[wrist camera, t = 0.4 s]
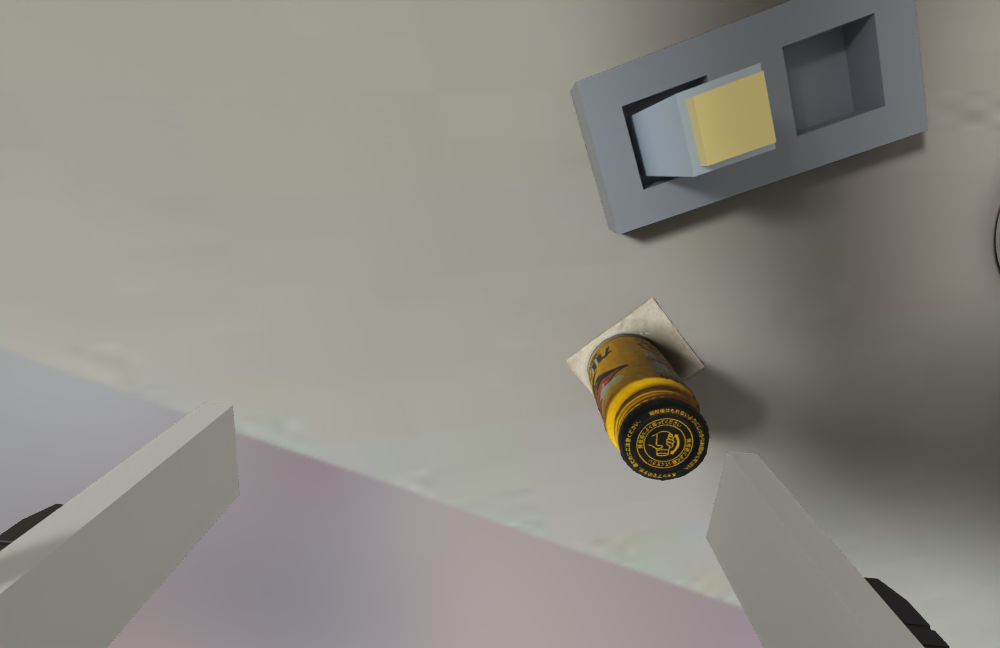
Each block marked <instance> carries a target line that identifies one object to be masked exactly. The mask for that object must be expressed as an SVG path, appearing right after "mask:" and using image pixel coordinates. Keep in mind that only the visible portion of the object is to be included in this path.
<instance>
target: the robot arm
mask: <svg viewBox="0 0 1000 648" xmlns="http://www.w3.org/2000/svg"><path fill="white" fill-rule="evenodd" d="M239 495H240V491H239V479H238V466H237V453H236V440H235V428H234V415H233V405H223V404H212V403H203V404H202V405H200V406H199V407H198V408H196V409H195V410H193V411H192V412H191V413H189V414H188V415H187V416H185V417H184V418H182V419H181V420H180V421H178V422H177V423H176V424H174V425H173V426H171V427H170V428H169V429H167V430H166V431H165V432H163V433H162V434H160V435H159V436H158V437H156V438H155V439H154V440H152V441H151V442H150V443H148V444H147V445H145V446H144V447H143V448H142V449H140V450H138V451H137V452H136V453H135V454H133V455H132V456H130V457H129V458H128V459H126V460H125V461H123V462H122V463H121V464H119V465H118V466H117V467H115V468H114V469H112V470H111V471H110V472H108V473H107V474H106V475H104V476H103V477H102V478H100V479H99V480H97V481H96V482H95V483H93V484H92V485H90V486H89V487H88V488H86V489H85V490H84V491H82V492H81V493H79V494H78V495H77V496H75V497H74V498H73V499H71V500H70V501H69V502H67V503H66V504H64V505H62V504H55V505H53V506H51V507H49V508H46V509H44V510H42V511H40V512H38V513H36V514H34V515H32V516H29V517H27V518H25V519H23V520H21V521H20V522H18V523H17V524H15V525H14V526H13V527H11V528H10V529H8V530H7V531H6V532H4V533H2V534H1V535H0V648H107V647H108V646H109V644H110V643H111V642H112V641H113V640H114V639H115V638H116V636H117V635H118V634H119V633H120V632H121V631H122V629H123V628H124V627H125V626H126V625H127V624H128V623H129V621H130V620H131V619H132V617H134V616H135V614H136V613H137V612H138V611H139V610H140V609H141V608H142V606H143V605H144V604H145V603H146V602H147V601H148V599H149V598H150V597H151V596H152V595H153V594H154V593H155V591H156V590H157V589H158V588H159V587H160V586H161V584H162V583H163V582H164V581H165V580H166V579H167V578H168V576H169V575H170V574H171V573H172V572H173V571H174V570H175V568H176V567H177V566H178V565H179V564H180V562H181V561H182V560H183V559H184V558H185V557H186V556H187V554H188V553H189V552H190V551H191V550H192V549H193V548H194V546H195V545H196V544H197V543H198V542H199V541H200V540H201V538H202V537H203V536H204V535H205V533H207V531H208V530H209V529H210V528H211V527H212V526H213V524H214V523H215V522H216V521H217V520H218V519H219V518H220V516H221V515H222V514H223V513H224V512H225V511H226V509H227V508H228V507H229V506H230V505H231V504H232V503H233V501H234V500H235V499H236V498H237V497H238V496H239ZM706 539H707V540H708V542H709V544H710V546H711V548H712V550H713V552H714V554H715V556H716V558H717V560H718V561H719V563H720V565H721V567H722V569H723V571H724V573H725V575H726V577H727V579H728V581H729V582H730V584H731V586H732V588H733V590H734V592H735V594H736V596H737V598H738V600H739V602H740V603H741V605H742V607H743V609H744V611H745V613H746V615H747V617H748V619H749V621H750V623H751V624H752V626H753V628H754V630H755V632H756V634H757V636H758V638H759V640H760V642H761V643H762V645H763V647H764V648H949V646H948V645H947V643H946V642H945V641H944V640H943V639H942V638H941V637H940V636H939V635H938V634H937V633H936V631H934V630H931V629H930V625H929V624H928V623H927V622H926V621H925V619H924V618H923V617H922V616H921V615H920V614H919V613H918V612H917V611H916V610H915V609H914V608H913V606H912V605H911V604H910V603H909V602H908V601H907V600H906V599H904V598H903V597H902V596H900V595H899V594H898V593H896V592H895V591H894V590H892V589H891V588H889V587H888V586H887V585H885V584H884V583H883V582H881V581H880V580H879V579H875V578H864V577H863V576H862V575H861V574H860V573H859V572H858V570H857V569H856V568H855V567H854V566H853V565H852V563H851V562H850V561H849V560H848V559H847V558H846V556H845V555H844V554H843V553H842V552H841V551H840V550H839V548H838V547H837V546H836V545H835V544H834V543H833V541H832V540H831V539H830V538H829V537H828V536H827V534H826V533H825V532H824V531H823V530H822V529H821V528H820V526H819V525H818V524H817V523H816V522H815V521H814V519H813V518H812V517H811V516H810V515H809V514H808V513H807V511H806V510H805V509H804V508H803V507H802V506H801V504H800V503H799V502H798V501H797V500H796V499H795V497H794V496H793V495H792V494H791V493H790V492H789V491H788V489H787V488H786V487H785V486H784V485H783V484H782V482H781V481H780V480H779V479H778V478H777V477H776V475H775V474H774V473H773V472H772V471H771V470H770V469H769V467H768V466H767V465H766V464H765V463H764V462H763V460H762V459H761V458H760V457H759V456H758V455H757V454H756V453H745V452H734V451H727V455H726V459H725V463H724V467H723V471H722V475H721V479H720V483H719V487H718V491H717V495H716V499H715V503H714V507H713V511H712V515H711V519H710V523H709V528H708V532H707V536H706Z"/></svg>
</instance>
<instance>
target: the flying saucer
mask: <svg viewBox="0 0 1000 648" xmlns="http://www.w3.org/2000/svg"><path fill="white" fill-rule="evenodd" d="M996 252H997V258H998V262H999V265H1000V213H999V217H998V222H997V228H996Z"/></svg>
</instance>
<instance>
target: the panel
mask: <svg viewBox="0 0 1000 648" xmlns="http://www.w3.org/2000/svg"><path fill="white" fill-rule="evenodd" d="M758 63H760V64H761V70H762V71H764V76H765V82H766V87H767V93H768V98H769V104H770V109H771V115H772V121H773V126H774V132H775V137H776V142H775V147H776V149H773V150H770V151H768V152H765V153H762V154H759V155H756V156H753V157H750V158H747V159H744V160H742V161H739V162H736V163H733V164H730V165H727V166H724V167H721V168H719V169H716V170H713V171H710V172H707V173H704V174H701V175H698V176H695V177H676V176H640V174H639V170H638V166H637V162H636V158H635V154H634V150H633V147H632V143H631V139H630V135H629V131H628V127H627V123H626V118H628V117H630V116H632V115H634V114H636V113H638V112H640V111H642V110H644V109H646V108H648V107H650V106H652V105H654V104H656V103H658V102H660V101H662V100H664V99H666V98H668V97H670V96H672V95H674V94H677V93H680V92H682V91H685V90H688V89H690V88H693V87H696V86H698V85H701V84H704V83H707V82H709V81H712V80H715V79H717V78H720V77H723V76H726V75H728V74H731V73H734V72H736V71H739V70H742V69H745V68H747V67H750V66H753V65H755V64H758ZM570 92H571V96H572V99H573V103H574V106H575V110H576V113H577V117H578V120H579V124H580V127H581V131H582V134H583V138H584V141H585V145H586V149H587V152H588V156H589V159H590V163H591V166H592V170H593V173H594V177H595V180H596V184H597V187H598V191H599V194H600V198H601V202H602V205H603V209H604V212H605V216H606V219H607V223H608V226H609V229H610V230H612V231H613V232H615V233H617V234H618V235H619V234H622V233H625V232H628V231H631V230H634V229H637V228H640V227H643V226H646V225H649V224H652V223H655V222H658V221H661V220H664V219H666V218H669V217H672V216H675V215H678V214H681V213H684V212H687V211H690V210H693V209H696V208H699V207H702V206H705V205H708V204H711V203H714V202H717V201H720V200H723V199H726V198H729V197H731V196H734V195H737V194H740V193H743V192H746V191H749V190H752V189H755V188H758V187H761V186H764V185H767V184H770V183H773V182H776V181H779V180H782V179H785V178H788V177H791V176H794V175H796V174H799V173H802V172H805V171H808V170H811V169H814V168H817V167H820V166H823V165H826V164H829V163H832V162H835V161H838V160H841V159H844V158H847V157H850V156H853V155H856V154H859V153H861V152H864V151H867V150H870V149H873V148H876V147H879V146H882V145H885V144H888V143H891V142H894V141H897V140H900V139H903V138H906V137H909V136H912V135H915V134H918V133H921V132H923V131H926V130H928V126H927V116H926V105H925V95H924V85H923V75H922V65H921V54H920V44H919V34H918V24H917V14H916V4H915V0H790V1H787V2H785V3H782V4H780V5H777V6H774V7H772V8H769V9H766V10H764V11H761V12H759V13H756V14H753V15H751V16H748V17H746V18H743V19H740V20H738V21H735V22H732V23H730V24H727V25H725V26H722V27H719V28H717V29H714V30H711V31H709V32H706V33H704V34H701V35H698V36H696V37H693V38H691V39H688V40H685V41H683V42H680V43H677V44H675V45H672V46H670V47H667V48H664V49H662V50H659V51H656V52H654V53H651V54H649V55H646V56H643V57H641V58H638V59H635V60H633V61H630V62H628V63H625V64H622V65H620V66H617V67H615V68H612V69H609V70H607V71H604V72H601V73H599V74H596V75H594V76H591V77H588V78H586V79H583V80H580V81H578V82H576V83H575V85H574V86H573V88H572V89H571V91H570Z"/></svg>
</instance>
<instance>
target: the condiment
mask: <svg viewBox="0 0 1000 648" xmlns="http://www.w3.org/2000/svg"><path fill="white" fill-rule="evenodd" d="M640 332H641V333H643V334H642V335H640V334H639V333H640ZM645 332H648V333H649V334H644V333H645ZM565 362H566V363H567V364H568V366H569V367H570V368H571V369H572V370H573V372H574V373H575V374H576V375H577V376H578V378H579V379H580V380H581V381H582V382H583V383H584V385H585V386H586V387H587V388H588V389H589V391H590V392H591V393H592V394H593V395H594V398H595V400H596V402H597V406H598V410H599V411H600V413H601V416H602V419H603V422H604V426H605V430H606V432H607V433H608V436H609V437H610V440H611V441H612V443H613V444H614V446H616V448H617V449H618V450H620V452H621V456H622V458H623V460H624V461H625V462H626V463H627V465H628V466H629V467H630V468H631V469H632V470H633V471H635V472H636V473H638V474H641V475H642V476H644V477H647V478H651V479H656V480H662V481H664V480H670V479H674V478H679V477H682V476H685V475H686V474H688V473H689V472H691V471H692V470H694V469H695V468H697V467H698V465H699V464H700V463H701V462H702V461H703V459H704V457H705V456H706V453H707V448H708V442H709V438H710V437H709V433H708V431H709V429H708V427H707V424H706V421H705V420H704V418H703V416H702V415H701V414H700V409H699V404H698V402H697V400H696V398H695V396H694V395H693V393H692V391H691V390H690V389H689V388H688V387H687V385H686V384H685V383H684V382H683V381H684V380H685V379H687V378H689V377H690V376H692V375H694V374H695V373H697V372H698V371H699V370H701V369H702V368H704V367H705V366H704V365H703V364H702V362H701V361H700V360H699V358H698V357H697V356H696V354H695V353H694V352H693V351H692V349H691V348H690V347H689V345H688V344H687V343H686V341H685V340H684V339H683V337H682V336H681V335H680V333H679V332H678V331H677V329H676V328H675V327H674V326H673V324H672V323H671V321H670V320H669V319H668V318H667V316H666V315H665V314H664V312H663V311H662V310H661V308H660V307H659V306H658V304H657V303H656V302H655V300H654V299H653V298H651V299H650V300H648V301H647V302H646V303H645V304H643V305H642V306H640V307H639V308H637V309H636V310H635V311H634V312H632V313H631V314H630V315H628V316H627V317H625V318H624V319H623V320H621V321H620V322H619V323H617V324H616V325H614V326H613V327H611V328H610V329H608V330H607V331H606V332H604V333H603V334H601V335H600V336H599V337H597V338H596V339H595V340H593V341H592V342H590V343H589V344H588V345H586V346H585V347H584V348H582V349H581V350H580V351H578V352H577V353H575V354H574V355H573V356H571V357H570V358H569V359H568V360H567V361H565Z"/></svg>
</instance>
